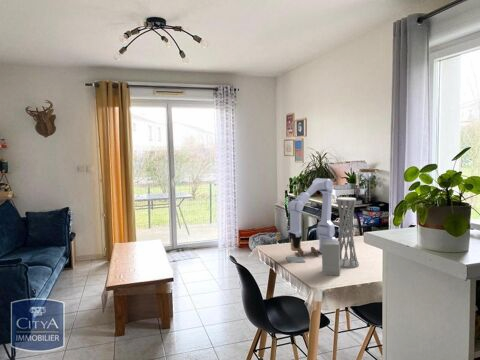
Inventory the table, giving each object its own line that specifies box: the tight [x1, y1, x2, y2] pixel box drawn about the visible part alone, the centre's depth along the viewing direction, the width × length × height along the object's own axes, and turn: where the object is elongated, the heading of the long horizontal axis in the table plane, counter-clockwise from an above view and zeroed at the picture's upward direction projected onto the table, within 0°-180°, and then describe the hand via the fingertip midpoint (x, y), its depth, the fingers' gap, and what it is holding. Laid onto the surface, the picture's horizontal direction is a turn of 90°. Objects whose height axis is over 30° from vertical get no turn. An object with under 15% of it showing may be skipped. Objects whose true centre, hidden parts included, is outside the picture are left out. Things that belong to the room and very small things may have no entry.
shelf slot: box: [297, 246, 319, 258], centre depth 205 cm, size 10×10×3 cm
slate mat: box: [285, 256, 306, 264], centre depth 195 cm, size 9×9×1 cm
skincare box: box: [321, 240, 341, 277], centre depth 172 cm, size 8×7×16 cm
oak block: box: [290, 237, 302, 252], centre depth 194 cm, size 4×4×6 cm
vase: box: [336, 196, 360, 269], centre depth 185 cm, size 14×13×35 cm
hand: (295, 247), depth 194 cm, fingers closed on oak block, 4 cm apart
